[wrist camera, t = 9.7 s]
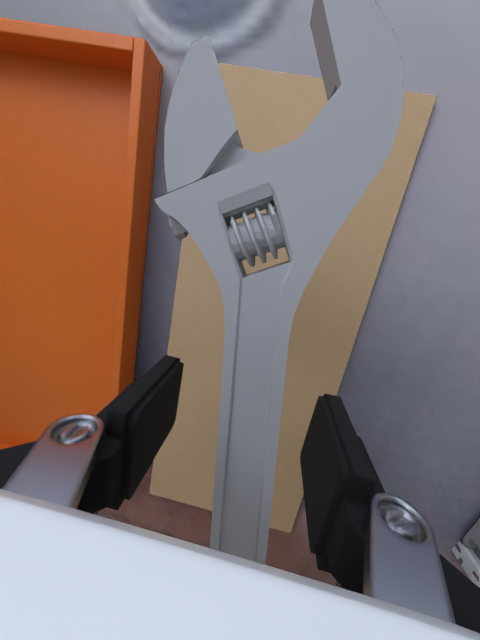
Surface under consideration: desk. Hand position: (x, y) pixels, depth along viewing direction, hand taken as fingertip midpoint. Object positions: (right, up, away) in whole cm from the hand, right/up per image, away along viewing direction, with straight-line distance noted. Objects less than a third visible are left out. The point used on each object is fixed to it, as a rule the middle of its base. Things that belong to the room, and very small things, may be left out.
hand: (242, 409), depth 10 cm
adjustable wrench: (0, 0, +1) cm, 1 cm away
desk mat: (+1, +2, +7) cm, 8 cm away
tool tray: (-14, +5, +9) cm, 17 cm away
